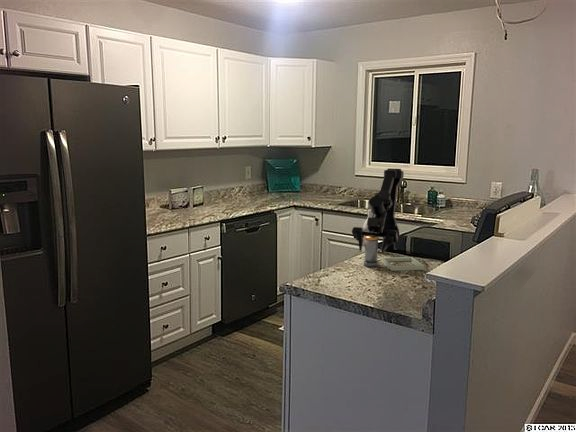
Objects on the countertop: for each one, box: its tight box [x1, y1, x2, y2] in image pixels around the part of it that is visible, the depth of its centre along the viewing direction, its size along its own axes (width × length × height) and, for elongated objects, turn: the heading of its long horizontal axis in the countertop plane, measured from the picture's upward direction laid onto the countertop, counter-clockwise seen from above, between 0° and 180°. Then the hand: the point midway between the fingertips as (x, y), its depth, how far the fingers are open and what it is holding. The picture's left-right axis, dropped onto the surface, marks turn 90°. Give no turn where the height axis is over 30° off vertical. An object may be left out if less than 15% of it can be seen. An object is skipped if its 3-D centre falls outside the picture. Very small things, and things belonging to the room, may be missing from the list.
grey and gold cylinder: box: [363, 235, 380, 268], centre depth 192 cm, size 6×6×12 cm
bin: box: [380, 256, 425, 271], centre depth 193 cm, size 14×14×2 cm
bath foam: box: [362, 208, 373, 253], centre depth 217 cm, size 7×7×20 cm
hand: (370, 251), depth 191 cm, fingers open, 9 cm apart
